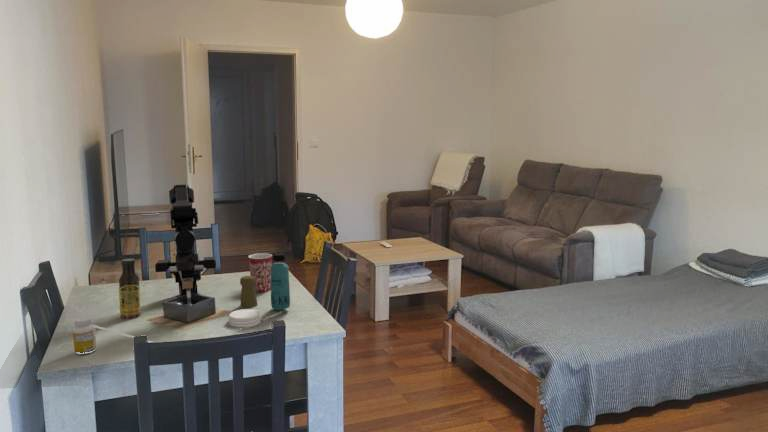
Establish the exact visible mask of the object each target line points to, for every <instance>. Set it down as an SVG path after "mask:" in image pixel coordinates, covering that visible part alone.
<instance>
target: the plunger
mask: <svg viewBox="0 0 768 432" xmlns="http://www.w3.org/2000/svg"><path fill="white" fill-rule="evenodd" d="M182 288H183V289H186V291H187V304H184V306H189V305H192V304H195V303H191V293H190V288H193V279H183V281H182Z"/></svg>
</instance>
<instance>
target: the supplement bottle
mask: <svg viewBox="0 0 768 432" xmlns="http://www.w3.org/2000/svg"><path fill="white" fill-rule="evenodd" d="M91 321H92V320H91V317H89V316H82V317H78V318H75V319H74V327H73V329H72V338H73V349H74V353H75V352H80V353H83V352H84V353H85V352H90V351H93V350H95V349H96V350H97V345H96V336H95V335H96V334H95V326H94V325H93V324H91V323H92V322H91Z"/></svg>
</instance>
